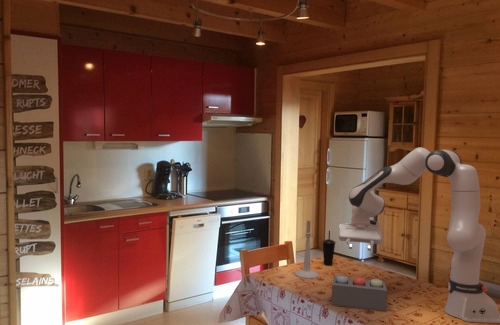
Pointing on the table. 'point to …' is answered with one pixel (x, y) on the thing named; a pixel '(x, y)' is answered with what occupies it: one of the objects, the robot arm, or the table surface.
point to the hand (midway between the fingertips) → (359, 249)
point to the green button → (376, 283)
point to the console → (359, 295)
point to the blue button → (341, 279)
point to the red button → (359, 281)
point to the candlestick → (307, 259)
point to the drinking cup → (328, 251)
